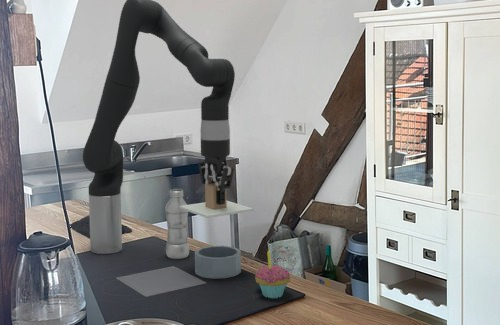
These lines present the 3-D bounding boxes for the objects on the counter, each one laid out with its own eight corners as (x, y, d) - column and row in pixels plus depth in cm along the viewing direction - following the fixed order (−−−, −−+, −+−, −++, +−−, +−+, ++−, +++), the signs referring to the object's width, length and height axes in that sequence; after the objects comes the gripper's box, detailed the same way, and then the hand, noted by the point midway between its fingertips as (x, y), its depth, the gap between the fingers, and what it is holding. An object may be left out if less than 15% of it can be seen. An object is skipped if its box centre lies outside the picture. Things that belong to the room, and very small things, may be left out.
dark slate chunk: (106, 221, 233) (106, 208, 232) (135, 234, 215) (135, 220, 215) (65, 227, 224) (64, 214, 223) (91, 241, 206) (91, 226, 206)
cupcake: (278, 303, 152) (279, 253, 150) (247, 296, 156) (248, 248, 154) (296, 292, 159) (296, 245, 157) (266, 286, 163) (266, 240, 161)
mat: (115, 280, 167) (115, 277, 167) (173, 268, 177) (173, 266, 177) (145, 299, 154) (145, 296, 154) (206, 285, 164) (206, 282, 163)
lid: (179, 208, 172) (178, 183, 171) (223, 201, 180) (223, 178, 179) (207, 218, 160) (206, 191, 159) (253, 210, 168) (253, 185, 167)
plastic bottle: (185, 262, 183) (184, 192, 180) (162, 261, 184) (161, 191, 181) (192, 256, 189) (191, 188, 186) (169, 254, 190) (168, 187, 187)
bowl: (186, 272, 174) (186, 250, 174) (224, 264, 181) (224, 243, 181) (210, 284, 165) (210, 261, 164) (249, 275, 172) (249, 253, 171)
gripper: (242, 138, 164) (243, 205, 166) (212, 134, 175) (213, 196, 178) (217, 140, 159) (218, 209, 162) (188, 135, 171) (189, 200, 173)
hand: (215, 202), depth 170 cm, fingers closed on lid, 4 cm apart
